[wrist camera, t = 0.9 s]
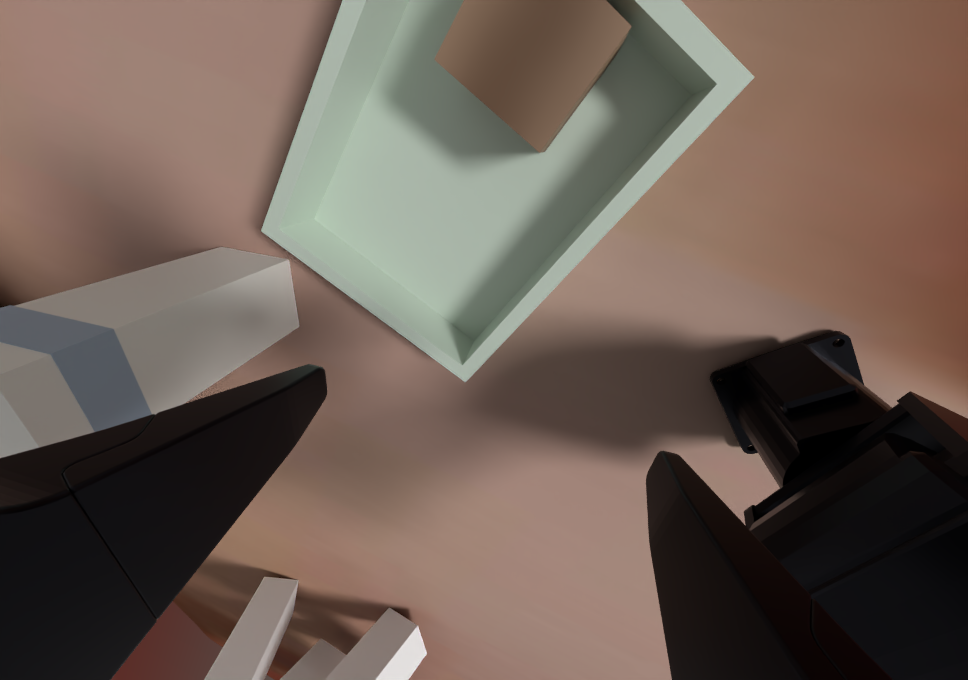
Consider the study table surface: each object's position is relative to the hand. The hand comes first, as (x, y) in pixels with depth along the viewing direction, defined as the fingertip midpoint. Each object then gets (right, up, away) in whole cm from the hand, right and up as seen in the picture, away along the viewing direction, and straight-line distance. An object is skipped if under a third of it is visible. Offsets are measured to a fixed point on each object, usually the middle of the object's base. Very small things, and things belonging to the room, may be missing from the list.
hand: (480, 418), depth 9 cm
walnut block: (+2, +14, +6) cm, 16 cm away
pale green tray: (0, +11, +9) cm, 14 cm away
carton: (-15, +6, +15) cm, 23 cm away
